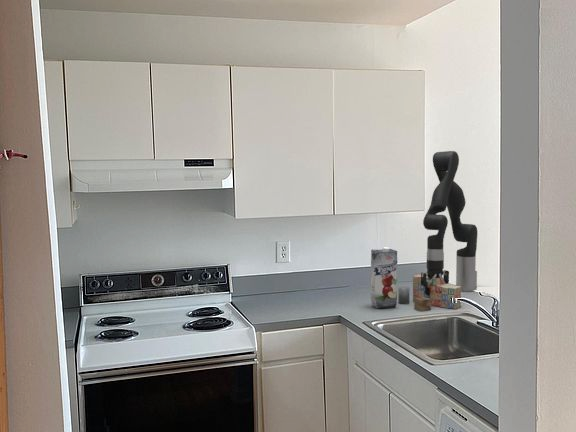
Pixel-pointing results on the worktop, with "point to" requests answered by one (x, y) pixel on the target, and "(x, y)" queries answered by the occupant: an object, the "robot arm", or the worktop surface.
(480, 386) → the worktop surface
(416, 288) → the stack of blocks
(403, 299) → the charcoal cylinder
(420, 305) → the walnut cube
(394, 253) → the juice carton
